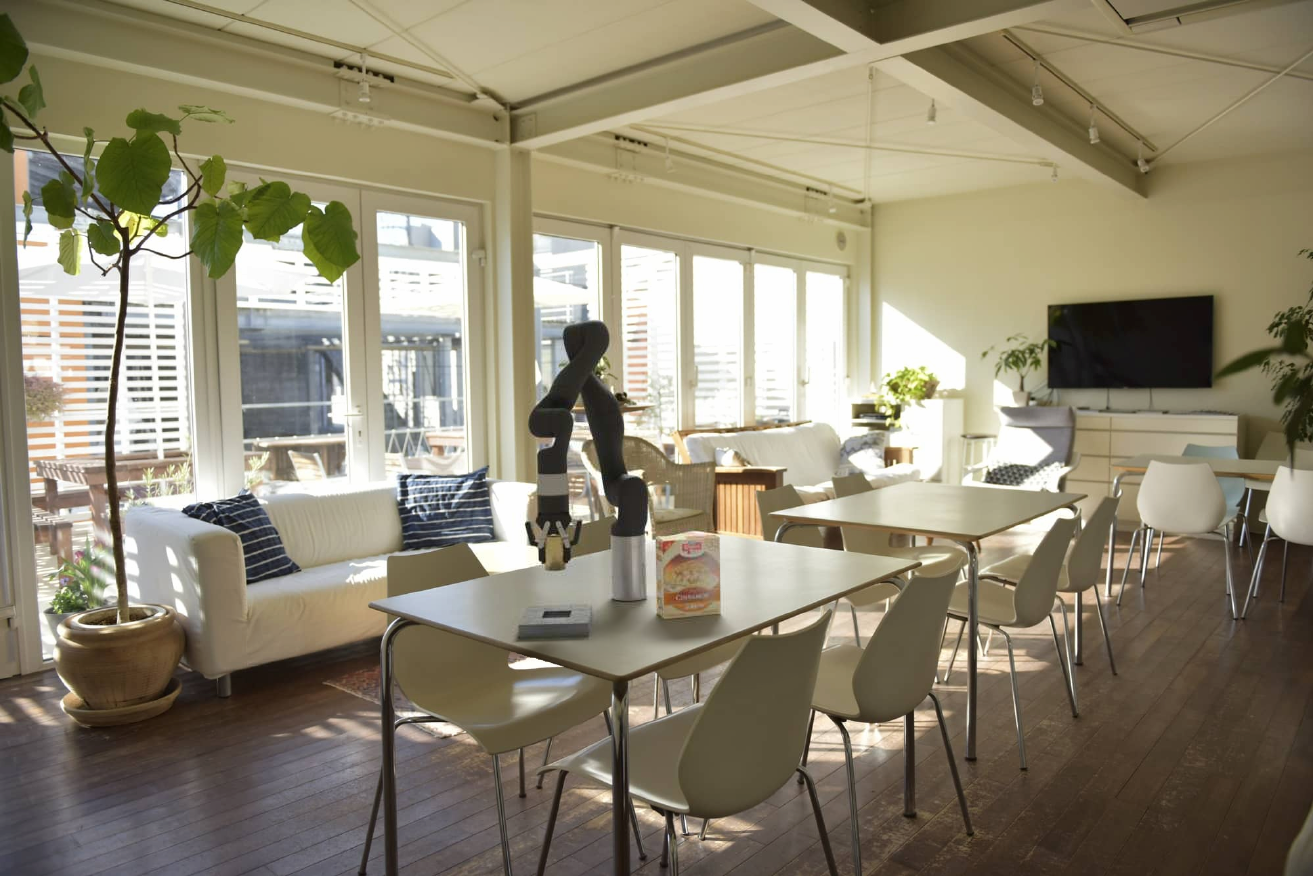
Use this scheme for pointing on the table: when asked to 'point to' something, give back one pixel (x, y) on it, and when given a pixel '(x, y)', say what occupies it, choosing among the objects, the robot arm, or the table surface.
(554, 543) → the short tan cylinder
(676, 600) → the coffeecake box
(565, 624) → the block
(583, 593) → the table surface
